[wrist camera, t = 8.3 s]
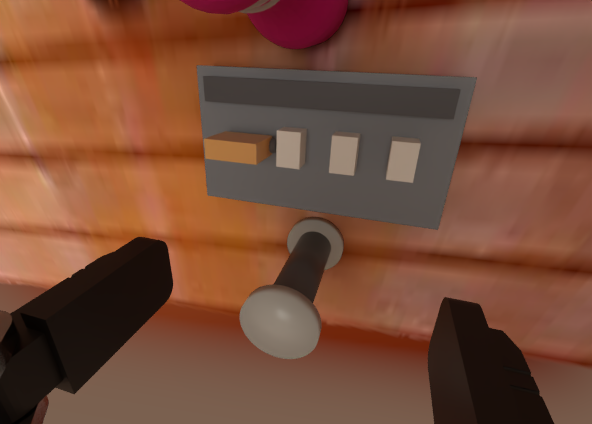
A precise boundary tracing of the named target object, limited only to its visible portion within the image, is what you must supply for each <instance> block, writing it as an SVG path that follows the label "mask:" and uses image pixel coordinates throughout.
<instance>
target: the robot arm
mask: <svg viewBox="0 0 592 424" xmlns="http://www.w3.org/2000/svg"><path fill="white" fill-rule="evenodd" d="M172 289H173V279H172V272H171V266H170V259H169V253H168V247H167V245H166V243H165V242H164V241H160V240H155V239H150V238H145V237H137V238H135V239H133V240H132V241H130V242H129V243H127V244H126V245H124V246H122V247H121V248H119V249H118V250H116V251H115V252H112V253H109V254H107V255H104V256H102V257H100V258H98V259H97V260H95V261H94V262H92V263H90V264H89V265H87V266H86V267H85V269H81V270H79V271H78V272H76V273H74V274H73V275H72V277H71V278H66V279H65V280H63V281H62V282H60V283H59V284H57V285H55V286H54V287H52V288H51V289H49V290H47V291H46V292H44V293H43V294H41V295H39V296H38V297H36V298H35V299H33V300H32V301H30V302H28V303H27V304H25V305H24V306H22V307H20V308H19V309H17V310H16V311H14V312H12V313H11V314H9V313H8V312H6V311H0V424H43V420H44V417H45V415H46V412H47V408H48V404H49V401H48V397H47V394H49V393H50V392H51V391H52V390H53V389H54V388H55V387H56V388H58V389H61V390H64V391H67V392H70V393H72V394H75V393H76V392H77V391H78V390H79V389H80V388H81V387H82V386H83V385H84V384H85V383H86V382H87V381H88V380H89V379H90V378H91V377H92V376H93V375H94V374H95V373H96V372H97V371H98V370H99V369H100V368H101V367H102V366H103V365H104V364H105V363H106V362H107V361H108V360H109V359H110V358H111V357H112V356H113V355H114V354H115V353H116V352H117V351H118V350H119V349H120V348H121V347H122V346H123V345H124V344H125V343H126V342H127V341H128V340H129V339H130V338H131V337H132V336H133V335H134V334H135V333H136V332H137V331H138V330H139V329H140V328H141V327H142V326H143V324H145V323H146V322H147V320H149V318H151V317H152V316H153V315H154V314H155V312H157V311H158V310H159V309H160V308H161V306H163V305H164V304H165V303H166V301H167V300H168V299H169V297H170V295H171V292H172ZM428 372H429V381H430V389H431V398H432V407H433V416H434V424H554V422H553V420H552V418H551V416H550V414H549V411H548V409H547V407H546V405H545V402H544V400H543V398H542V397H541V396H540V395H539V389H538V387H537V385H536V383H535V381H534V378H533V377H531V372H530V369H529V367H528V365H527V363H526V361H525V358H524V356H523V354H522V352H521V350H520V349H519V348H518V347H517V346H516V345H515V344H514V343H513V341H512V340H511V339H510V338H509V337H508V336H507V335H506V334H505V333H504V332H503V331H501V330H497V329H492V328H489V327H488V324H487V321H486V319H485V316H484V313H483V311H482V308H481V306H480V305H479V304H477V303H472V302H467V301H462V300H457V299H452V298H447V297H445V298H444V299H443V301H442V303H441V306H440V310H439V313H438V317H437V320H436V323H435V327H434V330H433V334H432V337H431V341H430V345H429V351H428Z"/></svg>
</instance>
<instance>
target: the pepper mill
mask: <svg viewBox="0 0 592 424" xmlns="http://www.w3.org/2000/svg"><path fill="white" fill-rule="evenodd" d="M180 1H182V2H184V3H185V4H187V5H189V6H190V7H192V8H194V9H197V10H201V11H204V12H207V13H216V14H231V13H234V12H238V11H239V12H242V13H247V15H248V16H249V18H250V20H251V21H252V23H253V24H254V26H255V27H256V29H257V30H258V31H259V32H260V33H261V34H262V35H263V36H264V37H265V38H267V39H268V40H269V41H271V42H273V43H275V44H277V45H279V46H281V47H284V48H289V49H302V48H307V47H310V46H312V45H316V44H320V43H322V42H324V41H326V40H327V39H329V38H330V37H331V36H332V35H333V34H334V33H335V32H336V31H337V30H338V28H339V27H340V25H341V24H342V22H343V20H344V17H345V14H346V11H347V6H348V0H180Z"/></svg>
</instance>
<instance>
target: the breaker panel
mask: <svg viewBox="0 0 592 424" xmlns="http://www.w3.org/2000/svg"><path fill="white" fill-rule="evenodd" d="M197 75H198V87H199V99H200V110H201V122H202V134H203V146H204V139H205V138H207V137H210V136H213V135H216V134H219V133H222V132H225V131H228V132H239V133H249V134H260V135H270V136H272V138H273V139H277V147H276V153H272V155H270V156H269V157H267V158H266V159H264V160H263V161H261V162H260V163H258V164H257V165H254V164H245V163H237V162H229V161H220V160H212V159H205V170H206V182H207V194H208V196H215V197H222V198H228V199H235V200H242V201H249V202H255V203H262V204H269V205H275V206H282V207H289V208H295V209H302V210H309V211H315V212H322V213H329V214H335V215H342V216H349V217H356V218H362V219H369V220H376V221H382V222H389V223H396V224H402V225H409V226H416V227H422V228H429V229H436V230H438V228H439V224H440V220H441V216H442V212H443V208H444V205H445V201H446V197H447V193H448V189H449V185H450V181H451V177H452V173H453V169H454V166H455V162H456V158H457V154H458V150H459V146H460V142H461V138H462V134H463V130H464V127H465V123H466V119H467V115H468V111H469V107H470V103H471V99H472V95H473V91H474V88H475V84H476V80H477V78H475V77H454V76H431V75H408V74H385V73H362V72H339V71H316V70H293V69H270V68H247V67H224V66H199V65H197ZM204 158H205V147H204Z"/></svg>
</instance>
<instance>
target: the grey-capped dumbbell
mask: <svg viewBox="0 0 592 424" xmlns="http://www.w3.org/2000/svg"><path fill="white" fill-rule="evenodd" d="M287 246H288V250H289V253H290V256H289V258H288V260H287V261H286V263H285V265H284V267H283V268H282V270H281V272H280V274H279V276H278V277H277V279H276V281H275V283H274V285H266V286H262V287H259V288H257V289H256V290H254V291H253V292H252V293H251V294H250V295H249V297H248V298H247V300H246V301H245V303H244V305H243V306H242V308H241V311H240V323H241V326H242V329H243V331H244V333H245V335H246V336H247V337H248V339H249V340H250V341H251V342H252V343H253V344H254V345H255V346H256V347H258V348H259V349H260V350H262V351H264V352H266V353H267V354H270V355H272V356H275V357H279V358H285V359H295V358H300V357H303V356H306V355H307V354H309V353H310V352H311V351H312V350H313V349H314V348H315V346H316V345H317V342H318V339H319V335H320V332H321V318H320V315H319V313H318V310H317V309H316V307H315V306H314V304H313V301H314V298H315V296H316V293H317V290H318V287H319V284H320V281H321V278H322V275H323V272H324V270H327V269H329V268H331V267H333V266H335V265H336V264H337V263H338V261H339V260H340V258H341V256H342V252H343V248H344V240H343V237H342V234H341V232H340V231H339V229H338V228H337V227H336V226H335V225H334V224H333V223H331V222H330V221H328V220H326V219H323V218H319V217H308V218H304V219H302V220H300V221H299V222H297V223H296V224H295V225H294V227H293V228H292V230H291V231H290V233H289V235H288V239H287Z"/></svg>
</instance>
